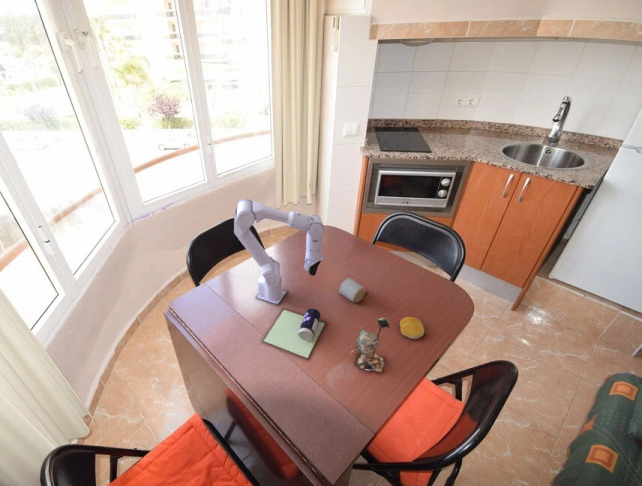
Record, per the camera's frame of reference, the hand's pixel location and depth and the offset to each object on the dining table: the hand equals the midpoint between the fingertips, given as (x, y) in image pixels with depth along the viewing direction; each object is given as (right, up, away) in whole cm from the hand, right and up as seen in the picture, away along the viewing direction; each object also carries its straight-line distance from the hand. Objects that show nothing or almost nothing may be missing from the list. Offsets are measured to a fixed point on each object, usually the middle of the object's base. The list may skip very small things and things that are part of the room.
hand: (312, 274), depth 129 cm
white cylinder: (+17, -9, +4) cm, 20 cm away
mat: (-8, -20, -11) cm, 24 cm away
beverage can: (0, -14, -7) cm, 15 cm away
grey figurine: (+16, -28, -22) cm, 39 cm away
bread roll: (+35, -20, -11) cm, 41 cm away
